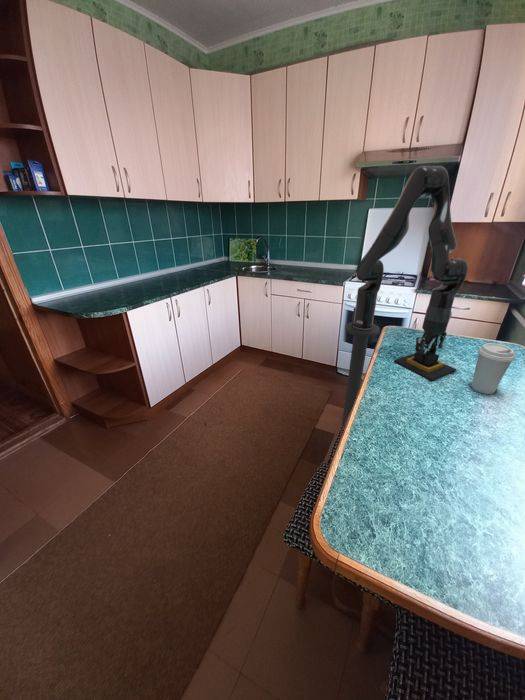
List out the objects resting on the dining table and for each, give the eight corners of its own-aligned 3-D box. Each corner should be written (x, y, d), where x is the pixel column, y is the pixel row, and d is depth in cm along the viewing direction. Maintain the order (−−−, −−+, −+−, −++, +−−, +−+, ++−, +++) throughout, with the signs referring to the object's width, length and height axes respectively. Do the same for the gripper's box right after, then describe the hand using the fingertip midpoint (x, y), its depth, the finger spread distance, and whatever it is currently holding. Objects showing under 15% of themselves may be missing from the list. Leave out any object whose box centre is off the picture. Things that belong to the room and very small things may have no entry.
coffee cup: (473, 395, 94) (488, 354, 87) (461, 379, 103) (474, 341, 96) (506, 398, 93) (524, 356, 86) (491, 381, 101) (506, 343, 94)
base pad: (393, 362, 115) (395, 356, 113) (417, 354, 120) (418, 348, 119) (431, 381, 102) (433, 375, 101) (455, 371, 108) (457, 365, 106)
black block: (413, 359, 111) (415, 352, 110) (422, 355, 113) (424, 348, 112) (427, 365, 106) (429, 358, 105) (437, 362, 109) (439, 355, 107)
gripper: (439, 311, 108) (428, 351, 116) (413, 318, 102) (404, 359, 110) (459, 317, 102) (446, 359, 110) (433, 324, 96) (421, 368, 104)
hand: (425, 359), depth 110 cm, fingers closed on black block, 5 cm apart
